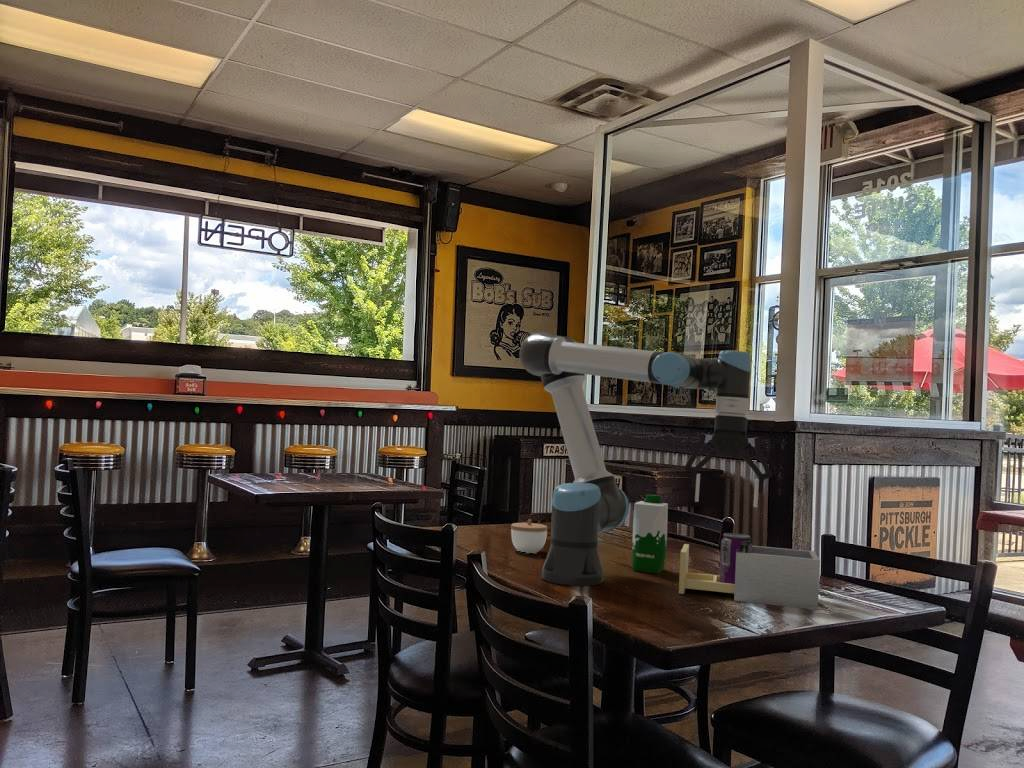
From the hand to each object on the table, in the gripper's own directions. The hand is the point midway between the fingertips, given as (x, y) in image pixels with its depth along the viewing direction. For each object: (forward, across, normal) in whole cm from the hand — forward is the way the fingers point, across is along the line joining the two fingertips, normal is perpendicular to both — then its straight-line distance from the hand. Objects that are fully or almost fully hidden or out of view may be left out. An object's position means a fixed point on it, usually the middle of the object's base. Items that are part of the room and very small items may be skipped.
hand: (725, 504), depth 194 cm
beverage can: (+19, +3, 0) cm, 19 cm away
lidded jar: (+23, -55, +31) cm, 67 cm away
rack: (+21, 0, 0) cm, 21 cm away
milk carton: (+22, -19, +21) cm, 36 cm away
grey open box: (+21, +12, 0) cm, 24 cm away
